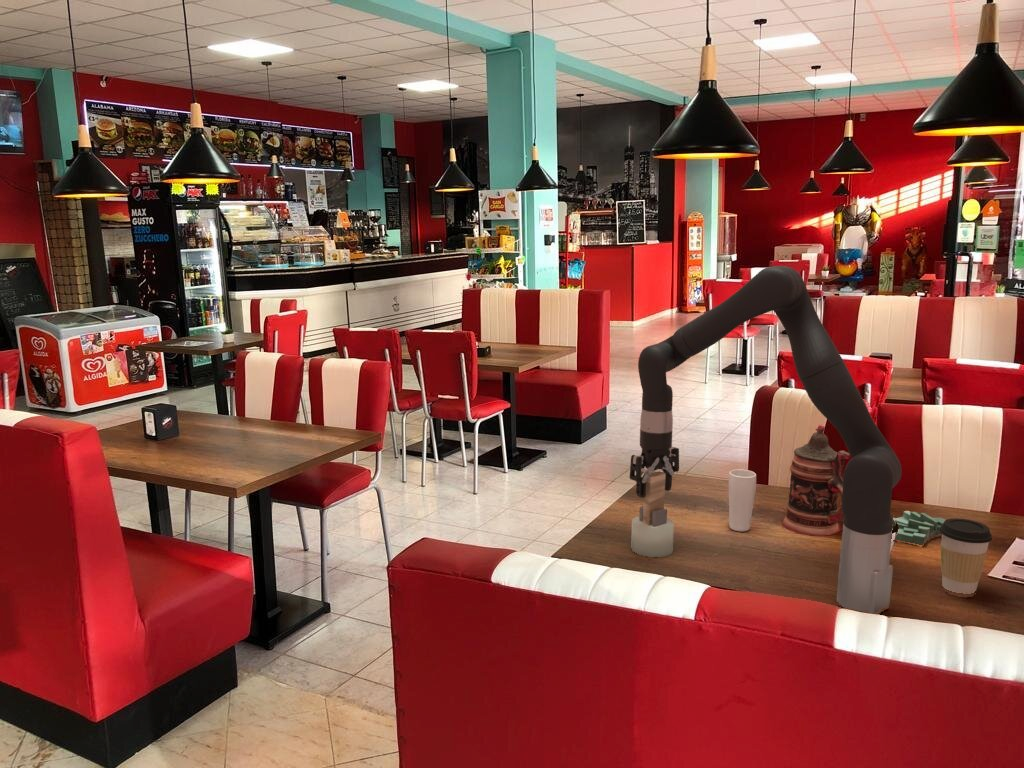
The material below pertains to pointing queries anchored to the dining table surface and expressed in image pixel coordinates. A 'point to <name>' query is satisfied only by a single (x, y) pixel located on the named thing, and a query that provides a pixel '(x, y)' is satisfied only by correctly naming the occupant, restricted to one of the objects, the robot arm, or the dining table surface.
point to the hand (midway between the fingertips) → (654, 493)
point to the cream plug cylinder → (652, 534)
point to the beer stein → (815, 488)
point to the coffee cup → (963, 554)
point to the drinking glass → (741, 498)
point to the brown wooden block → (653, 495)
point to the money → (917, 527)
